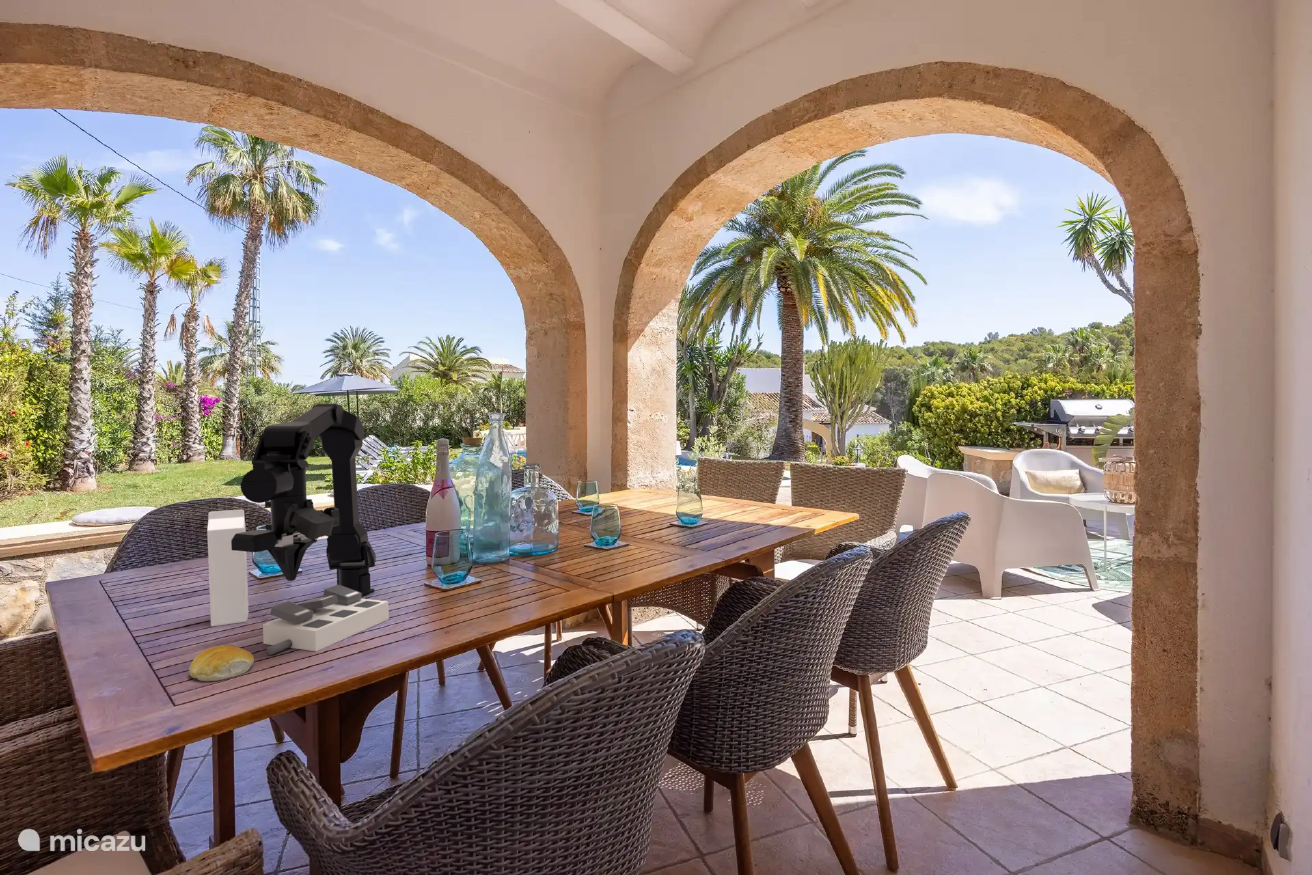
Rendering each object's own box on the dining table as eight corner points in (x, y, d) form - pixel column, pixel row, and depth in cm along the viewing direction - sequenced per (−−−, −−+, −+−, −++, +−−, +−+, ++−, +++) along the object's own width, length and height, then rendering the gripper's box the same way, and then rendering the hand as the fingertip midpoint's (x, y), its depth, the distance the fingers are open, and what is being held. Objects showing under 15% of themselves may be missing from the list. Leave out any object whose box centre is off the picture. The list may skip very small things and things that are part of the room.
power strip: (243, 651, 114) (242, 630, 114) (340, 613, 135) (340, 595, 135) (296, 659, 110) (296, 637, 110) (388, 619, 131) (388, 600, 131)
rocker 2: (323, 595, 130) (324, 588, 130) (337, 590, 133) (338, 584, 133) (347, 604, 128) (348, 597, 128) (360, 599, 131) (362, 592, 131)
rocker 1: (270, 614, 118) (271, 606, 118) (287, 608, 122) (288, 600, 122) (295, 624, 117) (297, 616, 116) (312, 618, 120) (313, 610, 120)
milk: (247, 622, 130) (243, 511, 129) (210, 627, 127) (206, 514, 126) (248, 613, 135) (245, 507, 134) (213, 618, 132) (209, 509, 131)
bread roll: (234, 658, 112) (233, 634, 111) (261, 669, 107) (261, 645, 107) (178, 674, 105) (177, 650, 105) (204, 687, 100) (204, 661, 100)
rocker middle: (299, 611, 124) (297, 603, 124) (314, 605, 127) (312, 598, 127) (323, 607, 122) (321, 599, 122) (338, 602, 126) (336, 594, 126)
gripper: (278, 504, 107) (281, 598, 107) (362, 490, 124) (365, 571, 125) (227, 501, 110) (230, 592, 111) (316, 487, 128) (319, 567, 129)
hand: (291, 580), depth 119 cm, fingers closed
